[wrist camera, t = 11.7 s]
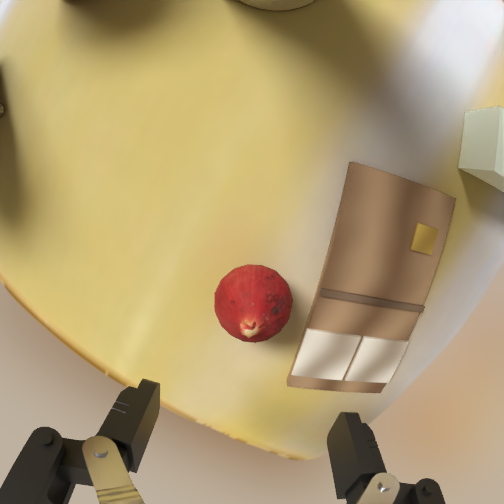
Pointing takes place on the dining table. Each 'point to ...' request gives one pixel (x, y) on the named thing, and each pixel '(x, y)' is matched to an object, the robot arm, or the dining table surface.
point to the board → (371, 282)
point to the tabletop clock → (1, 110)
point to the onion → (253, 303)
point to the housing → (484, 145)
